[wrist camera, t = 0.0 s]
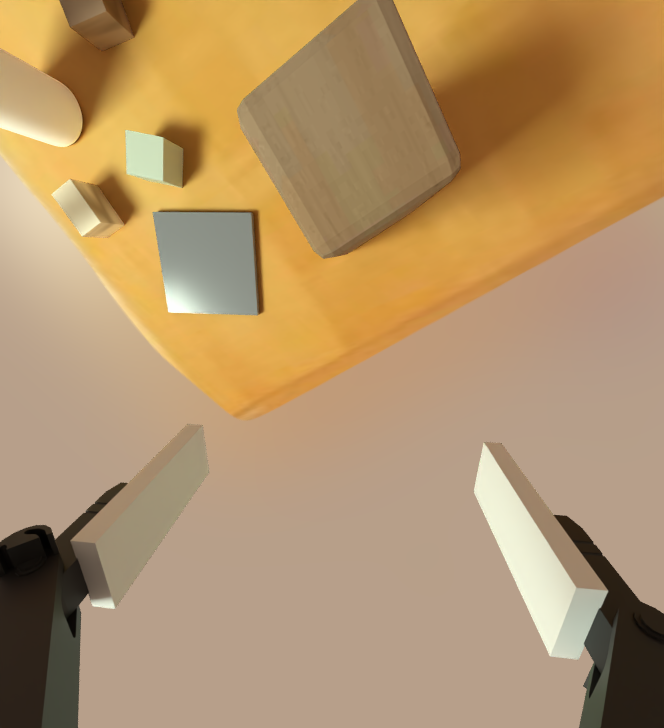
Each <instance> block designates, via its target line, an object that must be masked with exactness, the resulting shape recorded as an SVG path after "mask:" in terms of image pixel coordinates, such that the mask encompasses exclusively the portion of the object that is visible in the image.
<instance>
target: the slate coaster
mask: <svg viewBox="0 0 664 728" xmlns="http://www.w3.org/2000/svg"><path fill="white" fill-rule="evenodd" d="M153 217H154V223H155V230H156V236H157V242H158V249H159V255H160V261H161V268H162V274H163V281H164V287H165V293H166V300H167V306H168V312H174V313H205V314H236V315H259V298H258V282H257V265H256V249H255V233H254V217H253V213H233V212H153Z"/></svg>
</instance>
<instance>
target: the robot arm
mask: <svg viewBox="0 0 664 728" xmlns="http://www.w3.org/2000/svg"><path fill="white" fill-rule="evenodd" d="M208 473H209V467H208V460H207V453H206V445H205V439H204V430H203V425H193V424H187V425H186V426H185V427H184V428H183V429H182V430H181V431H180V432H179V433H178V434H177V435H176V436H175V437H174V438H173V439H172V440H171V441H170V442H169V443H168V444H167V445H166V446H165V447H164V448H163V449H162V450H161V451H160V452H159V453H158V454H157V455H156V456H155V457H154V458H153V459H152V460H151V461H150V462H149V463H148V464H147V465H146V466H145V467H144V468H143V469H142V470H141V471H140V472H139V473H138V474H137V475H136V476H135V477H134V478H133V479H132V480H131V481H130V482H129V483H120V484H118V485H116V486H115V487H113V488H111V489H110V490H108V491H106V493H104V494H103V495H102V496H101V497H100V498H99V499H98V500H97V501H96V502H95V504H93V505H92V506H90V507H89V508H88V509H87V510H86V513H83V514H82V515H81V516H80V517H79V518H78V519H77V520H76V521H75V522H73V523H72V524H71V525H70V526H69V527H68V528H67V529H66V530H65V531H64V532H63V533H62V534H61V535H60V536H59V537H58V538H57V539H56V540H55V538H54V536H53V533H52V530H51V528H50V527H48V526H46V525H36V526H32V527H28V528H25V529H23V530H20V531H18V532H16V533H13V534H12V535H10V536H9V537H7V538H5V539H4V540H2V541H1V542H0V728H78V701H79V666H80V629H81V611H80V608H79V604H80V603H81V602H82V601H83V599H84V598H85V597H86V595H87V594H89V596H90V600H91V602H92V605H93V606H96V607H104V608H114V609H115V608H116V607H117V605H118V604H119V602H120V601H121V600H122V598H123V597H124V595H125V594H126V592H127V591H128V590H129V588H130V586H131V585H132V584H133V582H134V581H135V579H136V578H137V576H138V575H139V574H140V572H141V571H142V569H143V568H144V566H145V565H146V564H147V562H148V560H149V559H150V558H151V556H152V555H153V553H154V552H155V550H156V549H157V547H158V546H159V545H160V543H161V542H162V540H163V539H164V537H165V536H166V534H167V533H168V532H169V530H170V529H171V527H172V526H173V524H174V523H175V521H176V520H177V519H178V517H179V516H180V514H181V513H182V511H183V510H184V508H185V507H186V505H187V504H188V502H189V501H190V500H191V498H192V497H193V495H194V494H195V492H196V491H197V489H198V488H199V487H200V485H201V484H202V482H203V481H204V479H205V478H206V476H207V475H208ZM474 493H475V495H476V497H477V499H478V502H479V504H480V506H481V508H482V510H483V512H484V515H485V517H486V519H487V521H488V523H489V525H490V528H491V530H492V532H493V534H494V536H495V538H496V541H497V543H498V545H499V547H500V549H501V551H502V553H503V556H504V558H505V560H506V562H507V564H508V566H509V569H510V571H511V573H512V575H513V577H514V579H515V581H516V584H517V586H518V588H519V590H520V592H521V594H522V597H523V599H524V601H525V603H526V605H527V607H528V610H529V612H530V614H531V616H532V618H533V620H534V623H535V625H536V627H537V629H538V631H539V633H540V635H541V637H542V640H543V642H544V644H545V646H546V648H547V650H548V653H549V655H550V656H551V657H561V658H570V659H579V657H580V655H581V653H582V650H583V648H584V646H585V647H586V649H587V650H588V652H589V654H590V656H591V657H592V659H593V661H594V664H593V666H592V668H591V670H590V672H589V674H588V677H587V679H586V681H585V683H584V685H583V686H584V687H585V688H586V689H587V691H586V696H585V701H584V706H583V711H582V716H581V721H580V727H579V728H664V614H663V613H661V612H660V611H658V610H657V609H656V608H653V607H651V606H649V605H647V604H645V603H642V602H640V600H639V599H638V598H637V597H636V596H635V594H634V593H633V592H632V590H631V589H630V588H629V587H628V585H627V584H626V583H625V582H624V580H623V579H622V578H621V576H619V574H618V573H617V571H616V570H615V569H614V568H613V567H612V565H611V564H610V563H609V561H608V560H607V559H606V558H605V557H604V556H603V555H602V553H601V551H600V550H599V549H598V548H597V546H596V545H594V544H593V541H592V540H591V539H590V537H589V536H588V535H587V534H586V532H585V531H584V530H583V529H582V528H581V527H580V526H579V525H577V524H576V523H575V522H574V521H573V520H571V519H570V518H569V517H567V516H560V515H553V514H552V512H551V511H550V510H549V508H548V507H547V506H546V504H545V503H544V501H543V500H542V499H541V497H540V496H539V494H538V493H537V492H536V490H535V489H534V488H533V486H532V485H531V483H530V482H529V481H528V479H527V478H526V476H525V475H524V474H523V472H522V471H521V470H520V468H519V467H518V465H517V464H516V463H515V461H514V460H513V459H512V457H511V456H510V454H509V453H508V452H507V450H506V449H505V447H504V446H503V445H502V443H489V442H484V444H483V449H482V454H481V459H480V464H479V469H478V474H477V478H476V483H475V488H474Z"/></svg>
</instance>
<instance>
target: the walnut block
mask: <svg viewBox="0 0 664 728" xmlns="http://www.w3.org/2000/svg"><path fill="white" fill-rule="evenodd" d="M60 3H61V5H62V8H63V10H64V13H65V15H66V18H67V20H68V23H69V25H70V27H71V28H72V29H73V30H75V31H76V32H77V33H78V34H80V35H81V36H82V37H84V38H85V39H86V40H88V41H89V42H90V43H92V44H93V45H94V46H95V47H97V48H98V49H99V50H101V51H104V50H106V49H108V48H111V47H113V46H115V45H118V44H120V43H122V42H125V41H127V40H130V39H132V38H134V35H133V32H132V29H131V26H130V24H129V21H128V18H127V15H126V12H125V9H124V6H123V4H122V1H121V0H60Z"/></svg>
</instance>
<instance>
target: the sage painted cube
mask: <svg viewBox="0 0 664 728" xmlns="http://www.w3.org/2000/svg"><path fill="white" fill-rule="evenodd" d="M125 131H126V166H127V174H129V175H132V176H135V177H138V178H141V179H144V180H147V181H151V182H156V183H161V184H166V185H171V186H176V187H180V188H183V148H181V147H179V146H178V145H176V144H174V143H172V142H171V141H169V140H167V139H165V138H164V137H159V136H154V135H149V134H144V133H139V132H134V131H129V130H125Z"/></svg>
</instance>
